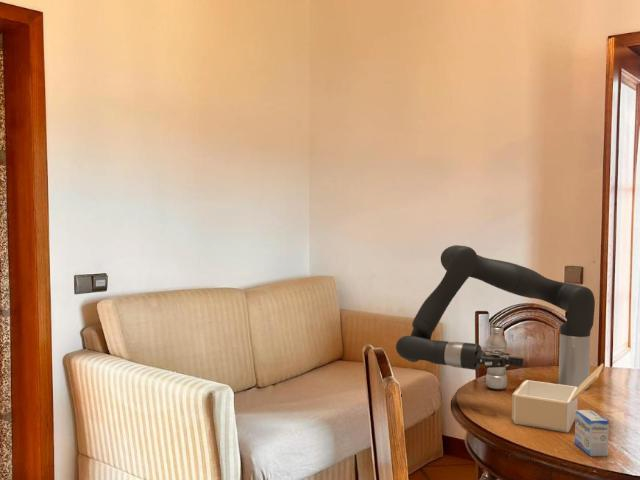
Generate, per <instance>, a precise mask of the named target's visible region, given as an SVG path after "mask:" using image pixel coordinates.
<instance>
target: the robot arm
mask: <svg viewBox="0 0 640 480" xmlns="http://www.w3.org/2000/svg"><path fill="white" fill-rule="evenodd" d="M440 263H441V266H442V267H443V269H444V270H445V271H446V272H445V274H444V276H443V278H442V279H441V281H439V283H438V285H437V286H436V288H434V290H433V291H432V292H431V293H430V294H429V295H428V296H427V298H426V299H425V300H424V301H423V302H422V305H420V308H419V310H418V311H417V313H416V314H415V317H414V319H413V321H412V324H411V325H412V328H413V329H412V330H411V331H412V332H411V334H410V335H405V336H402V337H400V338H398V340H397V341H396V345H395V350H396V352H397V354H398V355H399V357H401V358H403V359H405V360H406V361H408V362H411V363H416V362H418V361H426V362H429V363H432V364H435V365H442V366H449V367H452V368H458V369H466V370H473V371H478V370H479V369H480V367H481V365H482V366H484V368H486V369H487V368H497V367H505V368H506V367H509V366H512V367H520V368H521V367H523V366H524V364H525V359H524V358H523V357H517V356H516V357H515V356H511V355H510V354H509V353H508V352H506V353H505V352H502V351H499V350H495V352H493V351H491V350H487V349H486V351H483V350H482V346H481V344H479V343H471V342H464V341H463V342H462V341H448V340H447V341H446V340H437V339H436V340H435V339H432V336H433V333H434V331H435V329H436V328H437V326H438V324H439V323H440V321H441V319H442V317H443V315H444V314H445V312H446V310H447V308H448V307H449V305H450V304H451V302H452V301H453V299H454V298H455V296H456V295H457V294H458V292H459V291H460V289H461V287H463V285H464V284H465V283H466V281H468V279H469V278H473V279H476V280H478V281H479V280H480V281H482V282H484V283H485V284H488V285H490V286H492V287H495V288H497V289H499V290H502V291H505V292H507V293H510V294H513V295H516V296H520V297H524V298H529V299H535V300H540V301H544V302H546V303H548V304H550V305H553V306H555V307H557V308H559V309H561V310H563V311H565V312H567V314H566V320H565V322H564V323H561V324H560V325H559V349H558V351H559V352H558V356H559V357H558V382H557V384H560V385H567V386H574V387H579V385H580V384H581V383H582V382H583V381H585V380H586V379H587V378H588V377H589V376H590V375H591V356H590V355H591V353H590V352H591V332H592V331H591V330H592V328H593V326H594V323H595V322H594V319H595V309H596V308H595V306H596V301H595V295H594V292H593V291H592V290H591V289H590V288H589V287H587V286H583V285H579V284H574V283H568V282H567V283H566V282H563V281H558V280H554V279H550V278H548V277H546V276H544V275H542V274H541V273H538V272H537V271H535V270H534V269H531V268H528V267H525V266H523V265H520V264H517V263H513V262H509V261H504V260H500V259H494V258H489V257H488V258H487V257H484V256H482V255H479V254H477V252H476V251H475V249H474V248H472V247H470V246H468V245H456V244H454V245H451V246H448V247H447V248H445V249H444V250H443V251H442V252H441V254H440ZM590 386H591V385H589V386H588V387H587V388H586V389H585V390H587V389H589V388H590Z"/></svg>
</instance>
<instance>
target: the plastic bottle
mask: <svg viewBox="0 0 640 480" xmlns="http://www.w3.org/2000/svg"><path fill="white" fill-rule="evenodd" d="M490 333H491V334H490V336H488V338H487V340H486V343H485V346H486V351H487V350H491V351H493V352H495V350H499V351H502V352H505V353H507V350H508V342H507V340H506V338H505V336H504V327H503V326H500V325H493V326H491V327H490ZM506 370H507V367H506V366H505V367H497V368H486V376H485V384H486V386H487V387H488V388H489V389H494V390H503V389H506V388H507V385H508V377H507V371H506Z"/></svg>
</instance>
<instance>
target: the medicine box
mask: <svg viewBox="0 0 640 480" xmlns="http://www.w3.org/2000/svg"><path fill="white" fill-rule="evenodd" d="M574 423H575V424H574V426H575V427H574V444H575V446H577V447H578V448H579V449H581V450H582V451H583V452H585V454H587V455H588V456H590V457H606V456H607V457H608V451H609V429H610V428H609V425H610V424H609V420H608V419H606V418H604V417H603V416H601V415H600V414H598V413H596V412H595V411H593V410H592V409H591V410H590V409H581V410H580V409H577V411H576V418H575V420H574Z"/></svg>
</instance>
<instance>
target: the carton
mask: <svg viewBox="0 0 640 480" xmlns="http://www.w3.org/2000/svg"><path fill="white" fill-rule="evenodd" d="M577 389H578V387H574V386H567V385H560V384H558V383H551V382H543V381H537V380H536V381H535V380H530V379H529V380H528V379H527V380H523V382H521V384H520V385H519V386H518V387H517V388H516V389H515V391H513V393H512V395H511V420H512V421H513V424H515V425H516V424H517V425H521V426H527V427H534V428H538V429H545V430H550V431H557V432H562V433H569V432H570V430H571V429H572V426H573V425H574V423H575V420H576V411H577V410H578V402H579V401H578V399H579V396H578V397H577V398H576V399H575V400H574V401H572V398H573V396H574V394H575V393H576V391H577Z"/></svg>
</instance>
